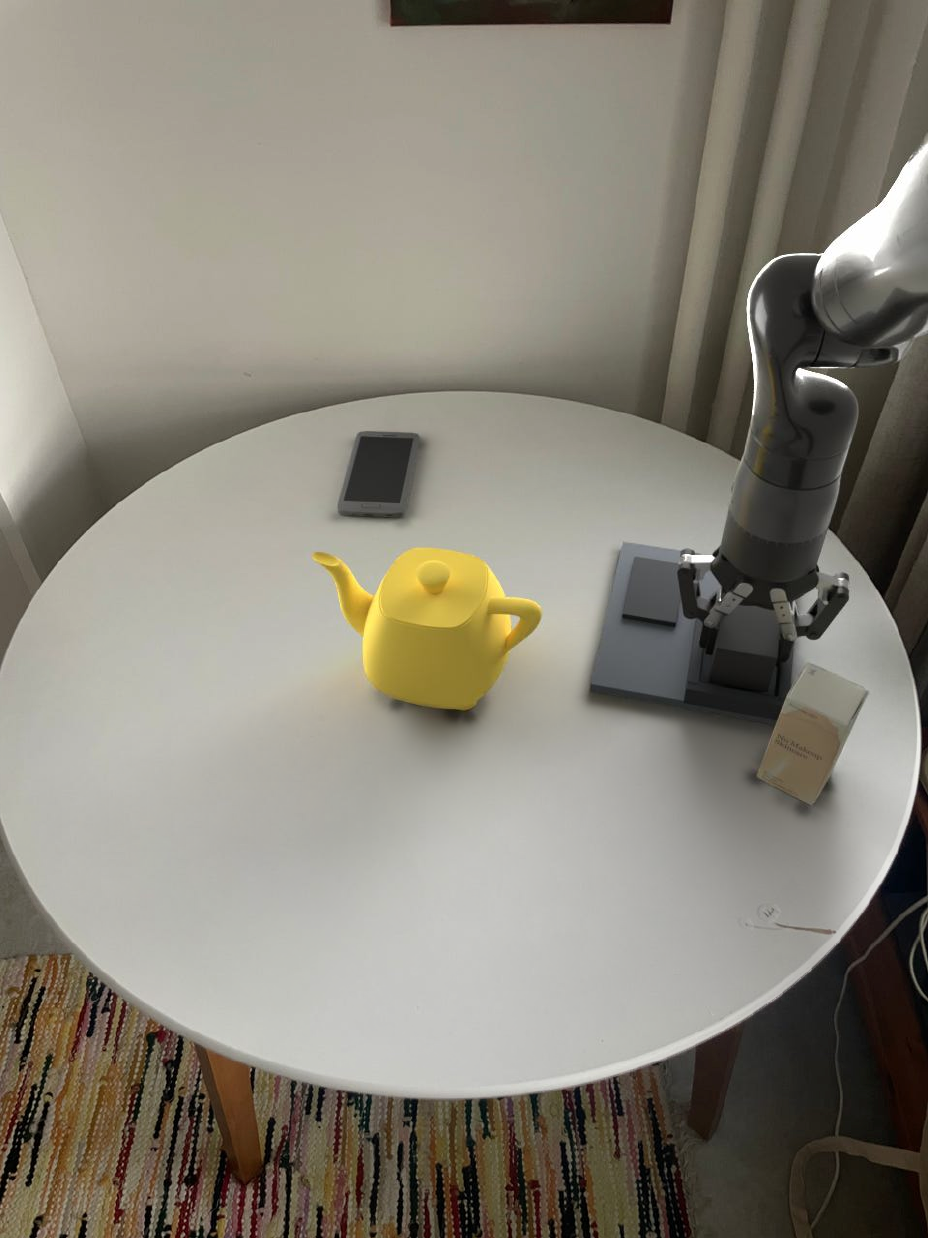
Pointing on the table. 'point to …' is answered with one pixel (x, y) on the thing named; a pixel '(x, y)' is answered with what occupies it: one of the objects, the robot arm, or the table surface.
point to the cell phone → (379, 474)
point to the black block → (746, 649)
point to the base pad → (669, 644)
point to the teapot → (433, 626)
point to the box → (811, 732)
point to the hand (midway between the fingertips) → (742, 653)
